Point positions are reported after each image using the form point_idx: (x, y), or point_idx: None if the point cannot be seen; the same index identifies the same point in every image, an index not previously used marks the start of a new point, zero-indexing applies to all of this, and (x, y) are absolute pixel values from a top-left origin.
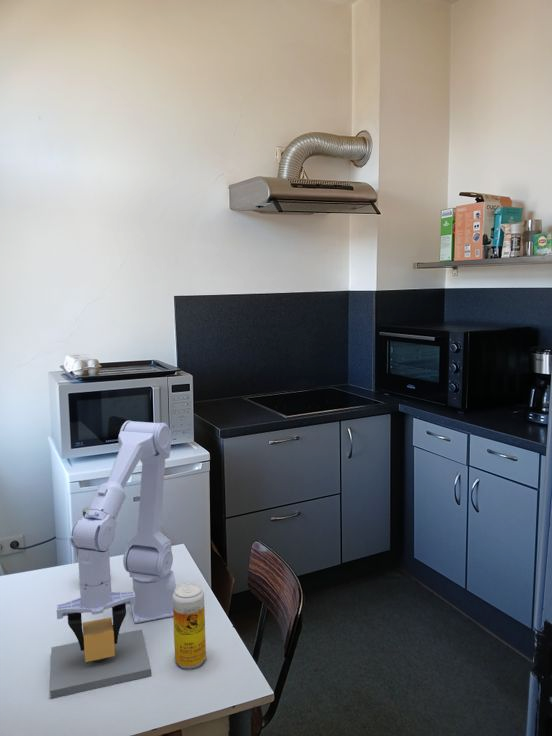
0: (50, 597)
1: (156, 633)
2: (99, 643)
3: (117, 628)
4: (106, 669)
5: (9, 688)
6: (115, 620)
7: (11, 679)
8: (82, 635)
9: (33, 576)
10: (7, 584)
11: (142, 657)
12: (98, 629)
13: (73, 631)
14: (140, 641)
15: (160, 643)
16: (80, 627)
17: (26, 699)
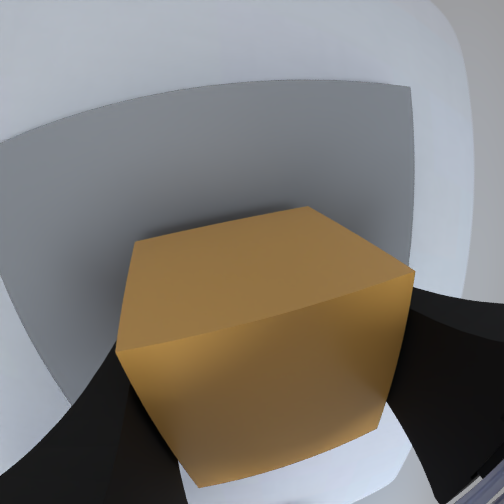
0: (349, 477)
1: (49, 409)
2: (251, 267)
3: (96, 396)
4: (180, 173)
5: (470, 188)
6: (89, 477)
7: (465, 227)
8: (411, 308)
9: (362, 494)
10: (397, 472)
11: (14, 254)
12: (287, 389)
13: (495, 305)
14: (62, 368)
15: (12, 360)
16: (493, 331)
17: (442, 118)
